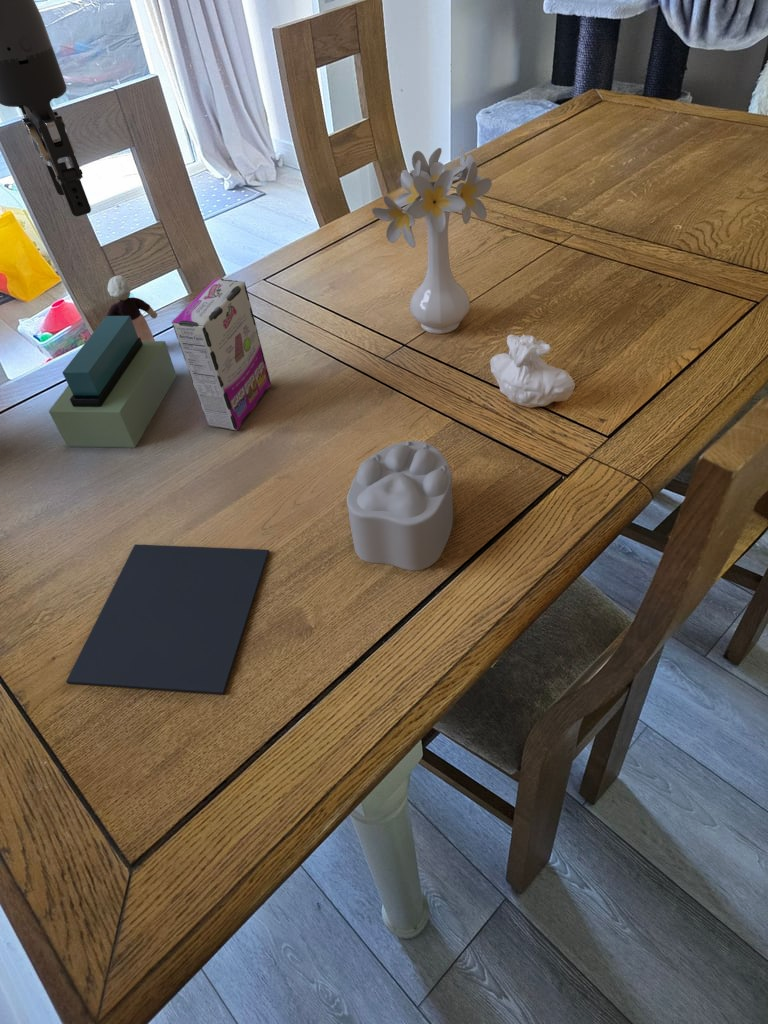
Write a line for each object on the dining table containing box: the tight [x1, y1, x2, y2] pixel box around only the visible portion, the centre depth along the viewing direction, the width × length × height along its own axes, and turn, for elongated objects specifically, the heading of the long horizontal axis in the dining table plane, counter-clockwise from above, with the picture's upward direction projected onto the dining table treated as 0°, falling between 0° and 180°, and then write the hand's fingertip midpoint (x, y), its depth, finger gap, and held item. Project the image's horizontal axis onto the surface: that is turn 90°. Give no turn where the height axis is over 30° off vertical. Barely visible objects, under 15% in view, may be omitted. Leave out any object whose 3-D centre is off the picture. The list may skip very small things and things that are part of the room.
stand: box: [48, 340, 177, 449], centre depth 98 cm, size 10×17×6 cm, turn 173°
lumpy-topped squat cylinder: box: [346, 440, 454, 572], centre depth 76 cm, size 10×13×9 cm
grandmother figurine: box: [106, 275, 158, 341], centre depth 106 cm, size 8×4×13 cm, turn 130°
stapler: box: [62, 315, 143, 407], centre depth 94 cm, size 15×4×5 cm, turn 173°
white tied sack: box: [489, 333, 576, 408], centre depth 90 cm, size 12×8×11 cm
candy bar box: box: [171, 278, 272, 432], centre depth 92 cm, size 11×5×16 cm, turn 161°
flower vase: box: [371, 141, 493, 335], centre depth 100 cm, size 13×18×25 cm
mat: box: [65, 544, 270, 696], centre depth 73 cm, size 16×18×1 cm
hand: (74, 203), depth 85 cm, fingers open, 8 cm apart
